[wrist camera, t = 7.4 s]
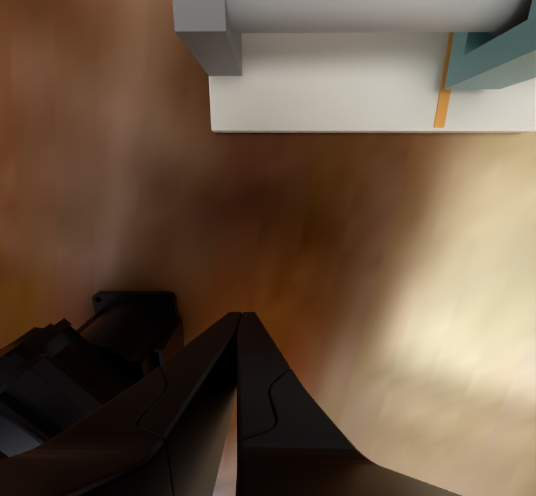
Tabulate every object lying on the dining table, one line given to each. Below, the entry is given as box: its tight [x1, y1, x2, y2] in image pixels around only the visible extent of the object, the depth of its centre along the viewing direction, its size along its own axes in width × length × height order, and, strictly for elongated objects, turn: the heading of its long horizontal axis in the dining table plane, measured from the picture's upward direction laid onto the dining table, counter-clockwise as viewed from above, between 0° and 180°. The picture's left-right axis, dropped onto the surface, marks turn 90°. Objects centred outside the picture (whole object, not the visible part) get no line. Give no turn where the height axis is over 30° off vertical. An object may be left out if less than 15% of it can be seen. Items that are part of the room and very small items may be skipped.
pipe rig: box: [172, 0, 536, 133], centre depth 13 cm, size 20×10×7 cm, turn 90°
